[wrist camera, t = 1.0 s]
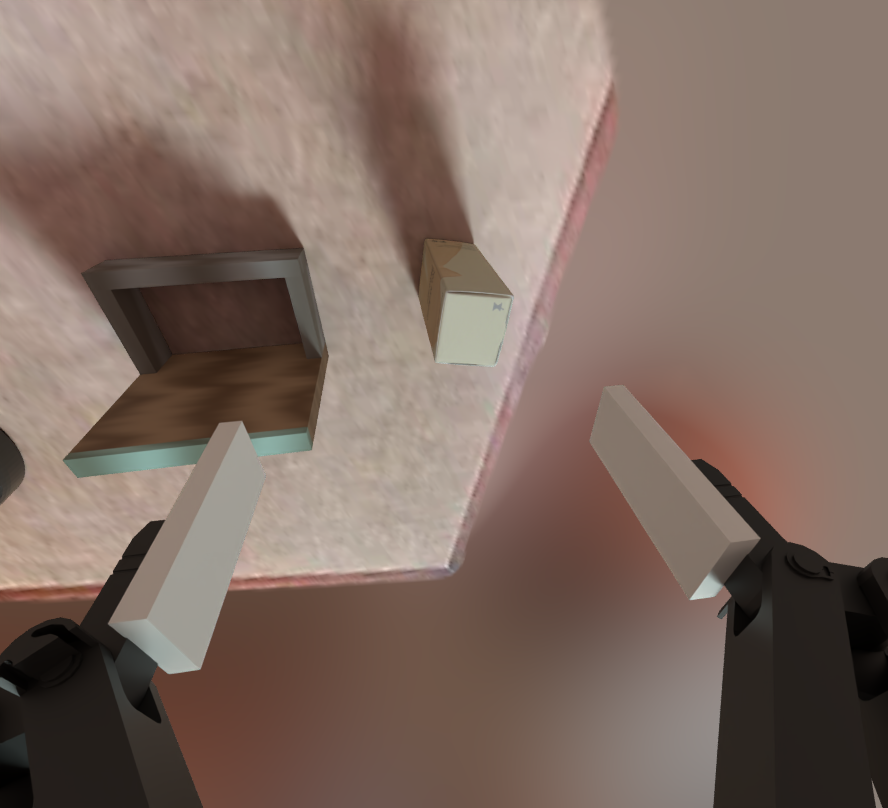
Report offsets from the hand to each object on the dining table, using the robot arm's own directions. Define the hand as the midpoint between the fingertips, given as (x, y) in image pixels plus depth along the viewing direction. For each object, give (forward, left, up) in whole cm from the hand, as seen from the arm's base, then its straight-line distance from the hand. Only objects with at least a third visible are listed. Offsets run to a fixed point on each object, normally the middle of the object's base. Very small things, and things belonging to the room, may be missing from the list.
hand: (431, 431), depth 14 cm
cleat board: (-14, -3, -21) cm, 26 cm away
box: (+4, -1, -21) cm, 22 cm away
